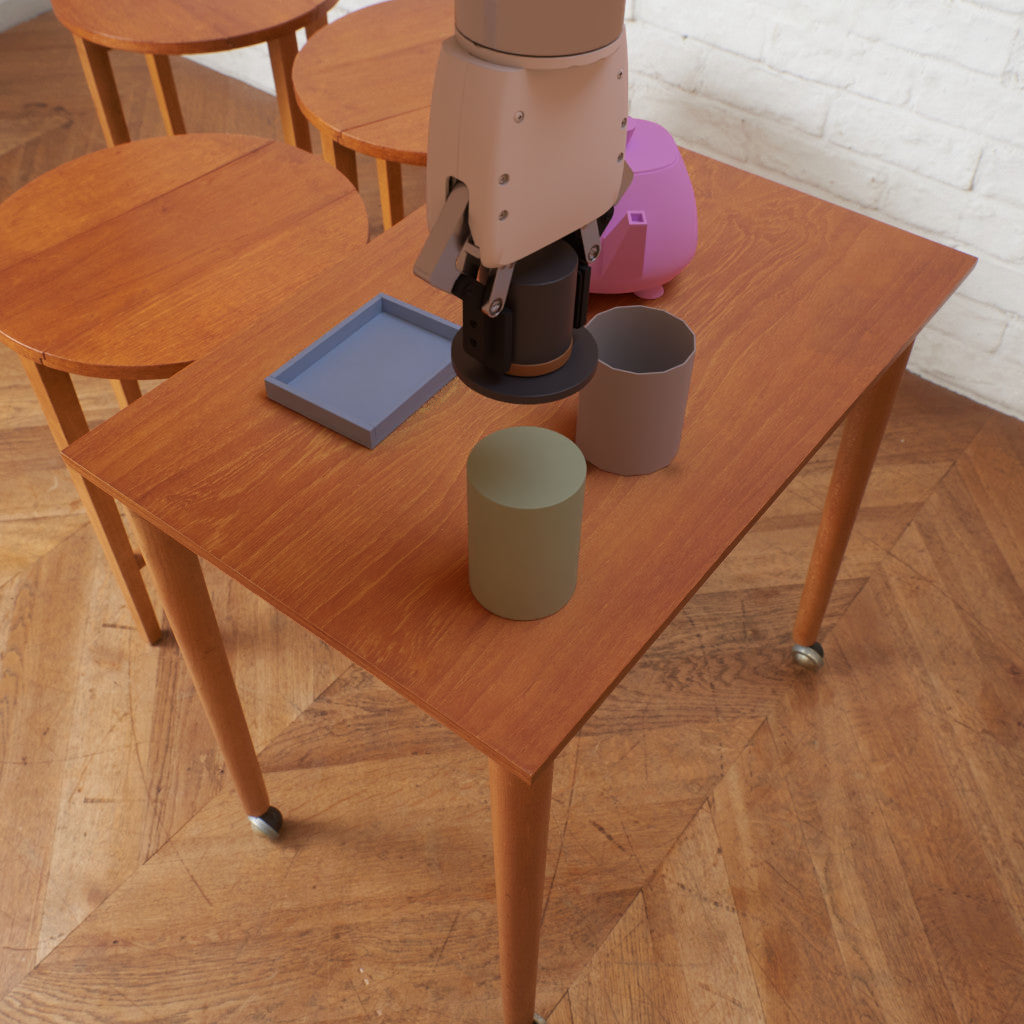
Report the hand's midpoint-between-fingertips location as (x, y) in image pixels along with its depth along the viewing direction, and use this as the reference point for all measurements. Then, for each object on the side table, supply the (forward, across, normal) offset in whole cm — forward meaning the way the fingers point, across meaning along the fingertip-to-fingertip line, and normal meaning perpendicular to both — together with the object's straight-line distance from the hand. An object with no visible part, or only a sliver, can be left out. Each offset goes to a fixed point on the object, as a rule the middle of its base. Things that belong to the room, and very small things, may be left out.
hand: (525, 336), depth 59 cm
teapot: (+21, -31, -21) cm, 43 cm away
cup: (+21, -17, -4) cm, 27 cm away
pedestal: (+21, -1, 0) cm, 21 cm away
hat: (+1, 0, 0) cm, 1 cm away
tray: (+21, -8, -24) cm, 33 cm away
